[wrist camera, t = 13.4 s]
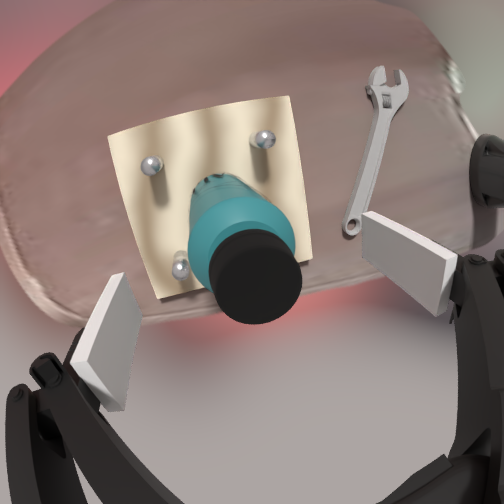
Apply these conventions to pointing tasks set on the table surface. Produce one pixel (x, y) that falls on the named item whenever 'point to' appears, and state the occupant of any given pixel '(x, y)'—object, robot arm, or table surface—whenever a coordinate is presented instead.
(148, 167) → the steel pegs
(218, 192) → the beverage bottle
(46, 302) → the table surface
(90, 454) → the robot arm
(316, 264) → the table surface
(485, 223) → the table surface
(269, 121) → the birch board
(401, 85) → the adjustable wrench
